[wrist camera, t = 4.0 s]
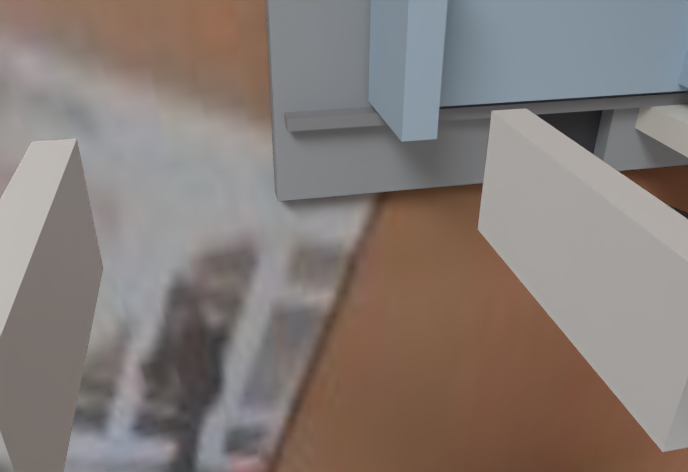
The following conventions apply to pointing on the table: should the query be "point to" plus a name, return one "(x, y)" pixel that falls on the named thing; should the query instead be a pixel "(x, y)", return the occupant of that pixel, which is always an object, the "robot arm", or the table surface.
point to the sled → (518, 54)
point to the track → (453, 123)
